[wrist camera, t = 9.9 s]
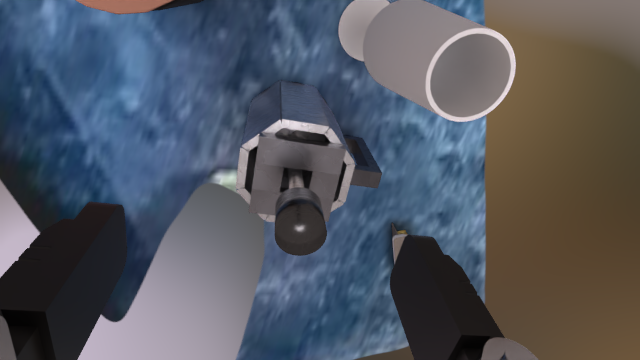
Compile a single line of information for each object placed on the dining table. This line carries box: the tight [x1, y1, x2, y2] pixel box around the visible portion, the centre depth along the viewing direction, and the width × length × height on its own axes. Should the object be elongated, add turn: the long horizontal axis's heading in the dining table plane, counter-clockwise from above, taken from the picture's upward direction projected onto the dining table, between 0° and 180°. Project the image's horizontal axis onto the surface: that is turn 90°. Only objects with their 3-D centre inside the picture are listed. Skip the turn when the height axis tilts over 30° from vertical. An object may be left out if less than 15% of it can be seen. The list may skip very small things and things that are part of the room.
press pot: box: [236, 80, 382, 222], centre depth 38 cm, size 10×13×15 cm
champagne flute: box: [338, 0, 516, 122], centre depth 30 cm, size 7×7×24 cm
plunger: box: [275, 128, 327, 256], centre depth 32 cm, size 7×7×18 cm
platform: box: [392, 223, 408, 264], centre depth 52 cm, size 12×18×6 cm, turn 9°
